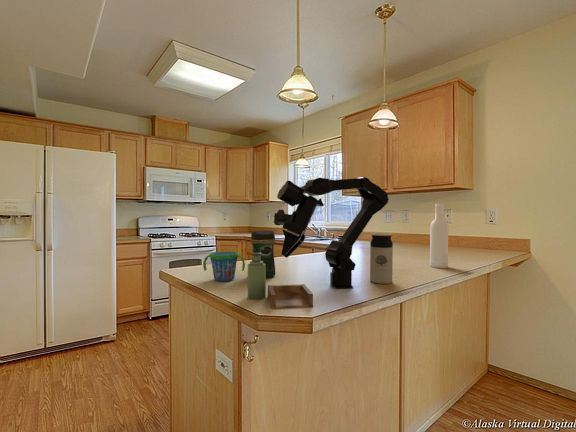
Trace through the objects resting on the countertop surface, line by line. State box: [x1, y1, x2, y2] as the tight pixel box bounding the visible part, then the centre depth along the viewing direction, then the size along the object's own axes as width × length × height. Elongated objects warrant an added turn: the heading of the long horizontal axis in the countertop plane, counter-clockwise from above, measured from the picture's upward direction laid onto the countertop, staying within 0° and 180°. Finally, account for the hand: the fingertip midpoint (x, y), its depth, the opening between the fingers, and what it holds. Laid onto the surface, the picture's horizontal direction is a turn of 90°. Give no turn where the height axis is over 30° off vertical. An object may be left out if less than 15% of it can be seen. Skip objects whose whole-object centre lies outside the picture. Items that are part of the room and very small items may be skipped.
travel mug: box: [369, 232, 394, 285], centre depth 117 cm, size 8×8×18 cm
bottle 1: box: [247, 252, 267, 301], centre depth 95 cm, size 5×5×13 cm
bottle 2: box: [429, 203, 449, 269], centre depth 150 cm, size 8×8×30 cm
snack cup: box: [202, 251, 246, 282], centre depth 119 cm, size 16×10×10 cm
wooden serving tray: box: [267, 283, 314, 309], centre depth 90 cm, size 11×11×4 cm
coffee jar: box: [250, 229, 276, 279], centre depth 125 cm, size 10×8×19 cm
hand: (284, 256), depth 101 cm, fingers open, 9 cm apart
